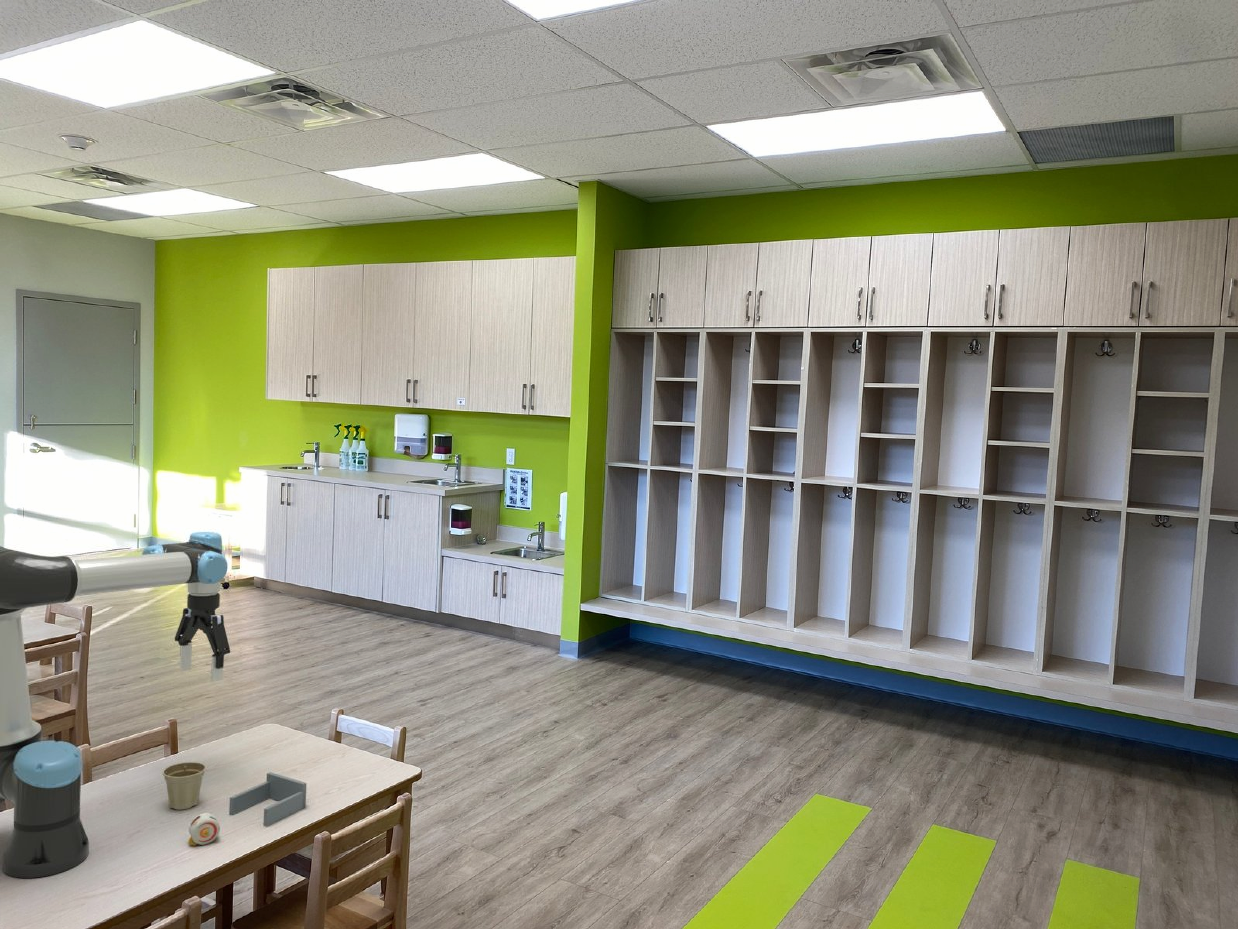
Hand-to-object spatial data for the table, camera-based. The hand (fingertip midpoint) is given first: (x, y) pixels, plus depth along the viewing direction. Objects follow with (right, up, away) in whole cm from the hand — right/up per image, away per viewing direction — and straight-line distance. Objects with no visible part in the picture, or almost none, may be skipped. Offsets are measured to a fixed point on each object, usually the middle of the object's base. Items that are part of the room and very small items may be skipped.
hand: (200, 675), depth 230 cm
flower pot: (+3, -28, -15) cm, 31 cm away
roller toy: (+16, -29, -32) cm, 46 cm away
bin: (+23, -29, -16) cm, 40 cm away
